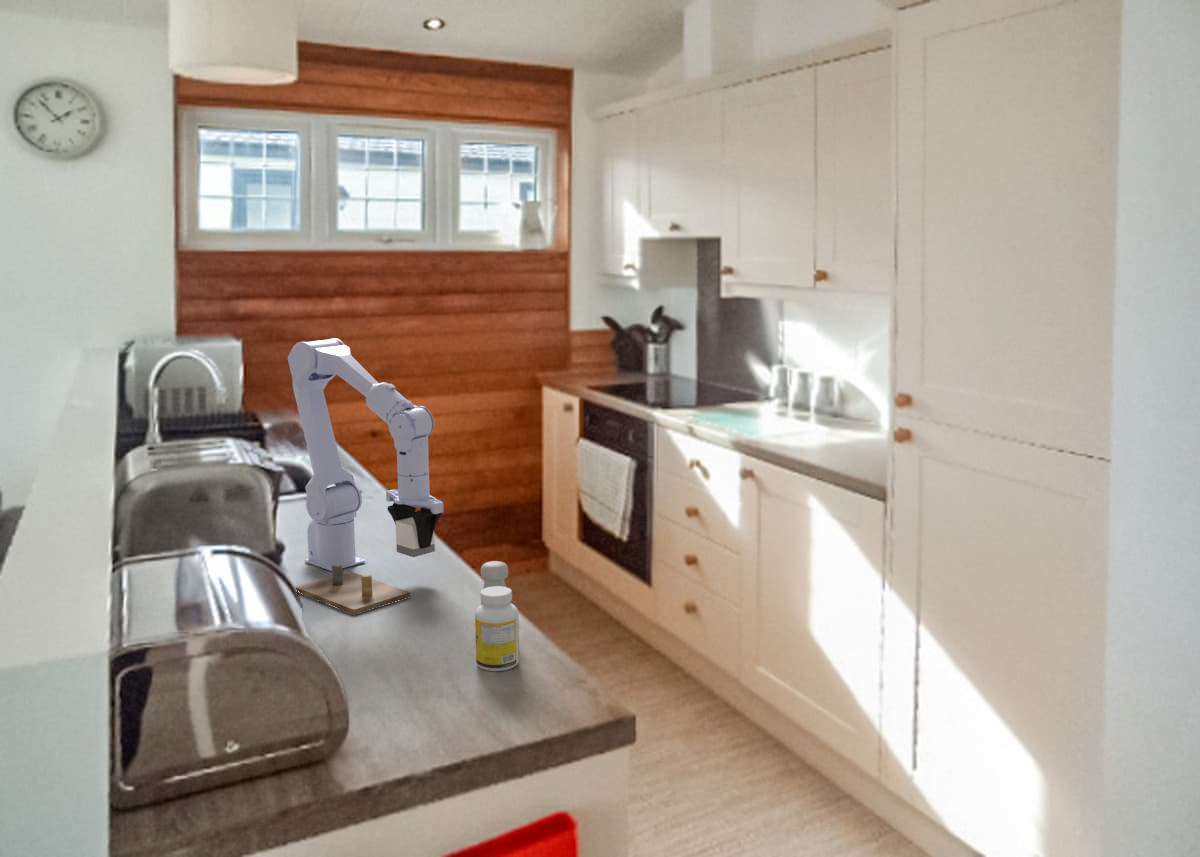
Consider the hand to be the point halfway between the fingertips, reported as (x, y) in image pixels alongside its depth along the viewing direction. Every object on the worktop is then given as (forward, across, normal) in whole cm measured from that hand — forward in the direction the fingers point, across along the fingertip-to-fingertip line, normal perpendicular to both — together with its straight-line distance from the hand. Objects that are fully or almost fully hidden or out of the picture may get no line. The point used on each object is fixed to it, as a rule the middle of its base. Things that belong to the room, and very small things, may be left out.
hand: (415, 544), depth 200 cm
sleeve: (+1, 0, 0) cm, 1 cm away
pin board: (+7, -2, -13) cm, 15 cm away
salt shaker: (+7, +34, -11) cm, 37 cm away
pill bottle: (+7, +41, -17) cm, 45 cm away
